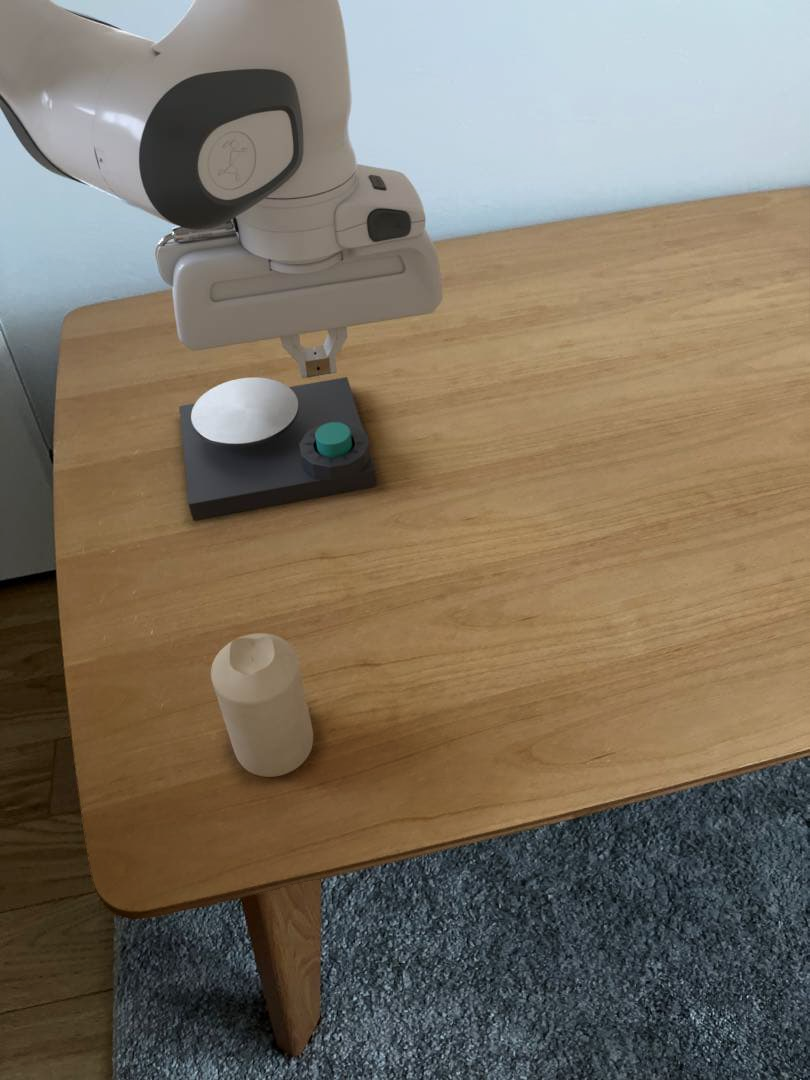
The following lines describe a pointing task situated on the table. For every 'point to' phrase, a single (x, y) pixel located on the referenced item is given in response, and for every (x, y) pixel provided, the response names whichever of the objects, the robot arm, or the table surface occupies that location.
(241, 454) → the scale
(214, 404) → the silver metal disc
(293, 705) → the candle
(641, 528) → the table surface
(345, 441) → the button
